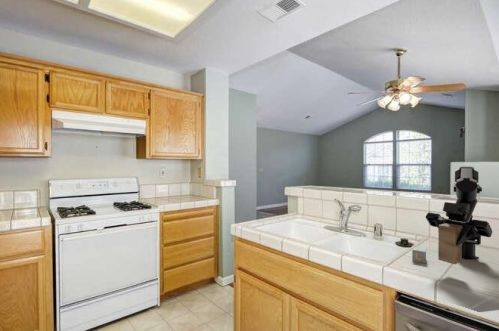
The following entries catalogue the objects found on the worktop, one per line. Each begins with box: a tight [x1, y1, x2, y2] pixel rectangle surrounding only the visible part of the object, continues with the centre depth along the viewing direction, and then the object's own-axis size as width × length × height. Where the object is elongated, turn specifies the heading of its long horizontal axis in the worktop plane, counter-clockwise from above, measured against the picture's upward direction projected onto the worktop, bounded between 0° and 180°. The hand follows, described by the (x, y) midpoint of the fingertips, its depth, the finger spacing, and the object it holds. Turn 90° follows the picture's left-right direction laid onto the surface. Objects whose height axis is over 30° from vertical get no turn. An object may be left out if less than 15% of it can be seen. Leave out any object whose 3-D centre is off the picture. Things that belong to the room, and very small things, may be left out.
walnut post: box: [437, 223, 463, 265], centre depth 94 cm, size 5×5×12 cm
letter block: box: [411, 246, 427, 264], centre depth 108 cm, size 5×4×4 cm
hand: (448, 242), depth 93 cm, fingers closed on walnut post, 5 cm apart
